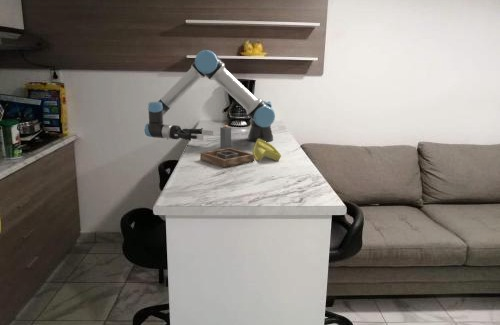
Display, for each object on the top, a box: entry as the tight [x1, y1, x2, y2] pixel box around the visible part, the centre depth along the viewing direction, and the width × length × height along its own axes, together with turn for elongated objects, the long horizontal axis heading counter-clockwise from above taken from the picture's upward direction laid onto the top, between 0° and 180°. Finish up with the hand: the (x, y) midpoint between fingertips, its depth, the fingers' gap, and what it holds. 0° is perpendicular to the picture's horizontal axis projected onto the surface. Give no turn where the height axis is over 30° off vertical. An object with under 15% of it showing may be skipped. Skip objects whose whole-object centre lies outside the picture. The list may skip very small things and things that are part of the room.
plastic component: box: [252, 139, 282, 162], centre depth 193 cm, size 20×7×10 cm
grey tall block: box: [219, 124, 232, 150], centre depth 204 cm, size 4×4×13 cm
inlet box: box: [199, 147, 255, 169], centre depth 184 cm, size 18×18×4 cm
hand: (208, 135), depth 207 cm, fingers open, 13 cm apart
